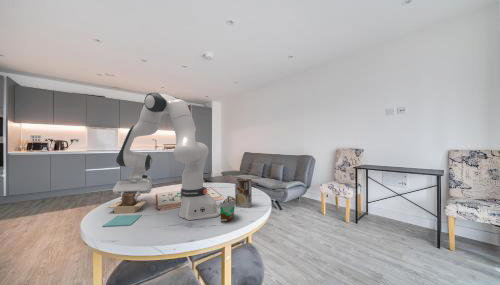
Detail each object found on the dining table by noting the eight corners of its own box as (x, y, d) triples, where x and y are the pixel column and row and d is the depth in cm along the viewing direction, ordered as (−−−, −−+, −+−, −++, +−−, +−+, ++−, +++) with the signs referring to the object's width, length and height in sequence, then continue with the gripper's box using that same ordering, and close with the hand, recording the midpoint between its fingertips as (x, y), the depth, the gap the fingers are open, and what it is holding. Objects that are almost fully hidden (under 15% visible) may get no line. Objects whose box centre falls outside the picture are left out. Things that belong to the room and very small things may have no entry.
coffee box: (252, 204, 119) (252, 179, 119) (249, 207, 113) (249, 181, 113) (238, 203, 122) (238, 178, 122) (234, 206, 115) (234, 180, 115)
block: (135, 208, 111) (135, 192, 111) (131, 211, 106) (131, 195, 106) (126, 208, 111) (126, 193, 111) (121, 211, 106) (121, 195, 106)
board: (141, 215, 100) (141, 214, 100) (130, 225, 88) (130, 224, 88) (117, 216, 99) (117, 215, 99) (102, 226, 87) (102, 225, 87)
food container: (231, 224, 90) (232, 203, 90) (219, 223, 91) (219, 202, 91) (238, 215, 102) (238, 196, 102) (227, 214, 103) (227, 195, 103)
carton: (147, 206, 115) (147, 200, 115) (140, 212, 105) (140, 206, 105) (118, 207, 113) (118, 201, 113) (108, 213, 102) (108, 207, 102)
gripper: (116, 176, 114) (106, 197, 104) (152, 176, 117) (145, 196, 107) (120, 182, 118) (110, 203, 109) (154, 181, 121) (148, 201, 111)
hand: (128, 199), depth 108 cm, fingers closed on block, 5 cm apart
